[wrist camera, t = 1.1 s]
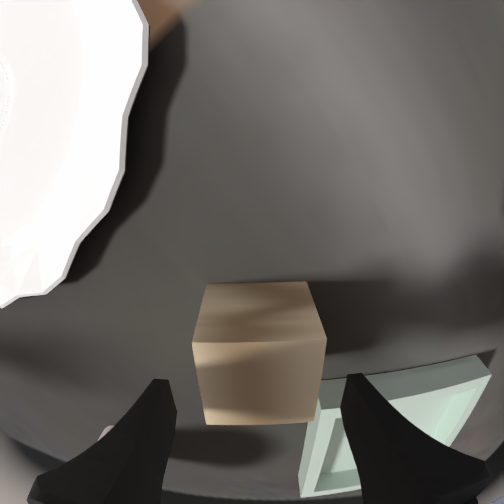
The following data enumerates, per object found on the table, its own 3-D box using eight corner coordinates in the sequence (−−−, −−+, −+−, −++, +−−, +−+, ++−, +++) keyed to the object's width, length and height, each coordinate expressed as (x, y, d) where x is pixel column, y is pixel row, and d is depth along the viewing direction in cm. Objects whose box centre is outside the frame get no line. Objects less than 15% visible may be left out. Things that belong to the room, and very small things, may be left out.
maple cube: (305, 280, 16) (326, 338, 11) (300, 356, 18) (313, 421, 13) (207, 283, 16) (191, 342, 11) (215, 359, 18) (206, 424, 13)
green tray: (475, 354, 18) (491, 374, 16) (424, 451, 23) (432, 469, 21) (314, 380, 18) (321, 409, 16) (298, 475, 23) (300, 497, 21)
